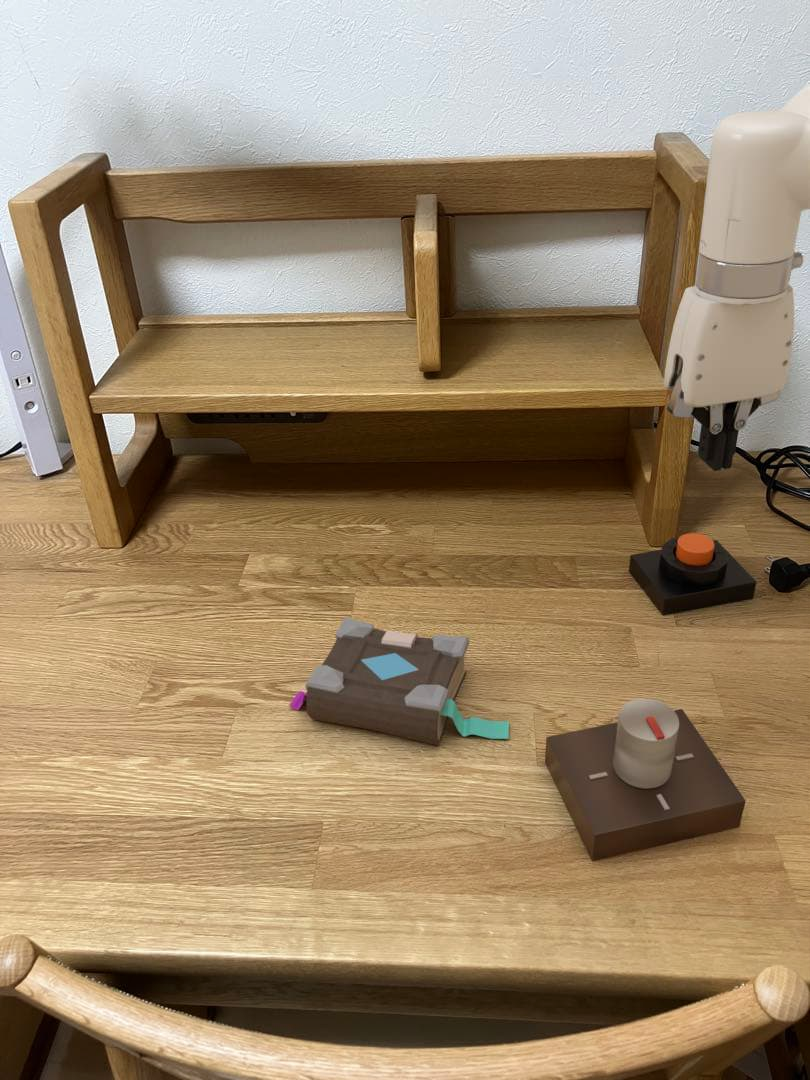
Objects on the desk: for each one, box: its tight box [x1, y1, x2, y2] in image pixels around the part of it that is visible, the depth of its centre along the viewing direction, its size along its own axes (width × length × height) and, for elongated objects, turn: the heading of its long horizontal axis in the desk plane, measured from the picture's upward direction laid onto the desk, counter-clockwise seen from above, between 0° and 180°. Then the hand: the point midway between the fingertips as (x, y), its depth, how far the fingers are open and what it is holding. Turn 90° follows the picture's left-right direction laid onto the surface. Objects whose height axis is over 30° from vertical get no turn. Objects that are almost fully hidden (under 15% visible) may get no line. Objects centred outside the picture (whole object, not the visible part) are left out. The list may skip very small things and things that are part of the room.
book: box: [288, 616, 510, 747], centre depth 81 cm, size 20×12×5 cm, turn 72°
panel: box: [544, 708, 747, 862], centre depth 71 cm, size 12×10×3 cm
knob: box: [613, 698, 679, 789], centre depth 68 cm, size 4×4×6 cm
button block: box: [628, 536, 757, 617], centre depth 93 cm, size 10×8×4 cm
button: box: [676, 532, 715, 566], centre depth 91 cm, size 4×4×2 cm
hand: (714, 462), depth 86 cm, fingers closed
